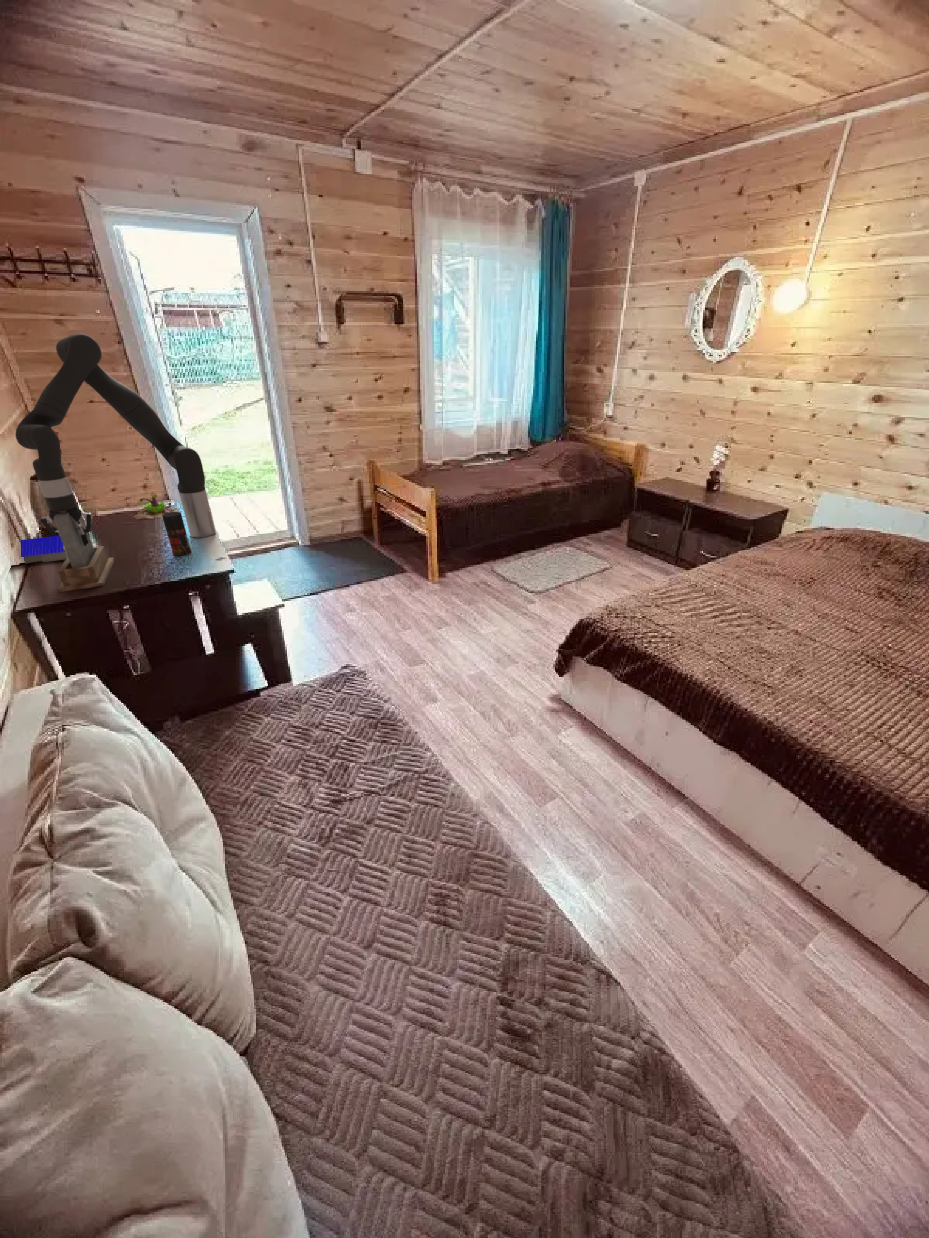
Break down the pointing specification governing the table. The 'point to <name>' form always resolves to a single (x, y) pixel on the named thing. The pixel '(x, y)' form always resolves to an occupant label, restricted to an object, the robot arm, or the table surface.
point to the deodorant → (176, 534)
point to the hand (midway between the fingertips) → (77, 545)
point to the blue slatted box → (43, 549)
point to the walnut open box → (86, 572)
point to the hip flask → (73, 540)
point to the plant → (153, 509)
